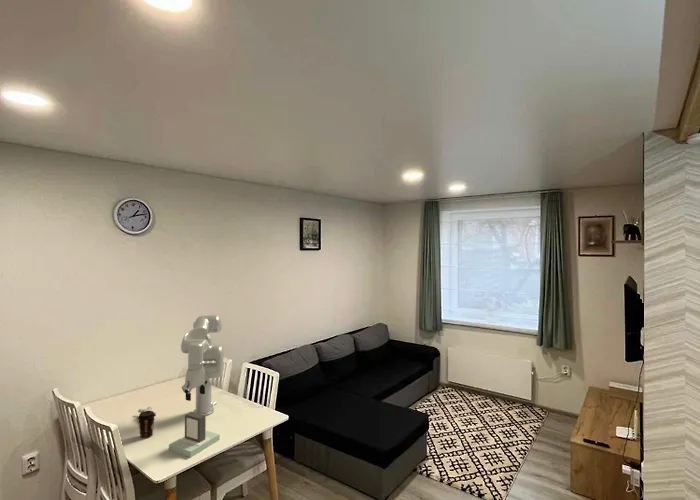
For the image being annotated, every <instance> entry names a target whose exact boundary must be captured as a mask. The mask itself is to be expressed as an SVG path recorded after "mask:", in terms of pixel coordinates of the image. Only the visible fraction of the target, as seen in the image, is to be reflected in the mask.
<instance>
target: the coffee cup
mask: <svg viewBox="0 0 700 500" xmlns="http://www.w3.org/2000/svg"><path fill="white" fill-rule="evenodd" d="M154 412H155V411H152V410H151V411H145V412H142V413H140V412H139V415H138V416H137V420H138V427H139V428H138V429H139V435H140V436H139V438H140V439H142V440H143V439H149V438H151V437H152V436H153V433H154V425H155V417H156V416H155V413H154ZM154 416H155V417H154Z"/></svg>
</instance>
